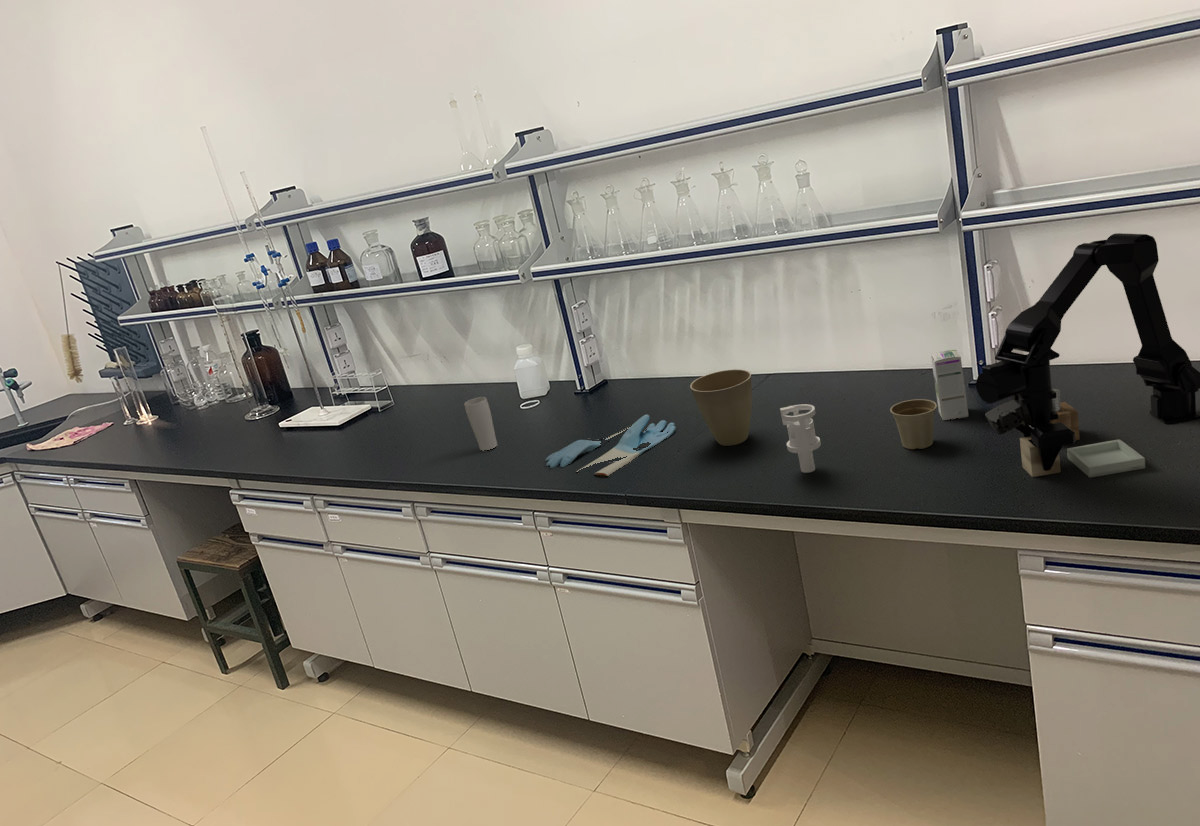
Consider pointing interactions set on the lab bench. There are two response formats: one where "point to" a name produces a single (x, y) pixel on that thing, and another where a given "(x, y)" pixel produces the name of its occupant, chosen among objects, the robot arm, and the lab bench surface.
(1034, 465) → the maple block
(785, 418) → the strainer
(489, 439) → the drinking glass
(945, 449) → the lab bench surface
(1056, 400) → the rod
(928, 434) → the flower pot
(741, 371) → the plant pot
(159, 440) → the lab bench surface
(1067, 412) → the bored oak block
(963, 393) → the syrup box
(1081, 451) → the tray
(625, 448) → the rubber gloves
